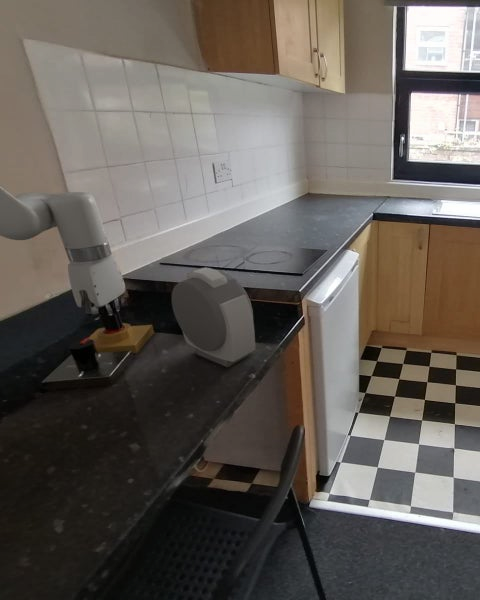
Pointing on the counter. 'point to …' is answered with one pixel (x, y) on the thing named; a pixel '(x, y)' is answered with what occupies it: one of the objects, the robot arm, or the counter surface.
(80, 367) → the dial
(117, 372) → the dial plate
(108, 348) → the knob block
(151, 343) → the counter surface
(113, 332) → the press knob
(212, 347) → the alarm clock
